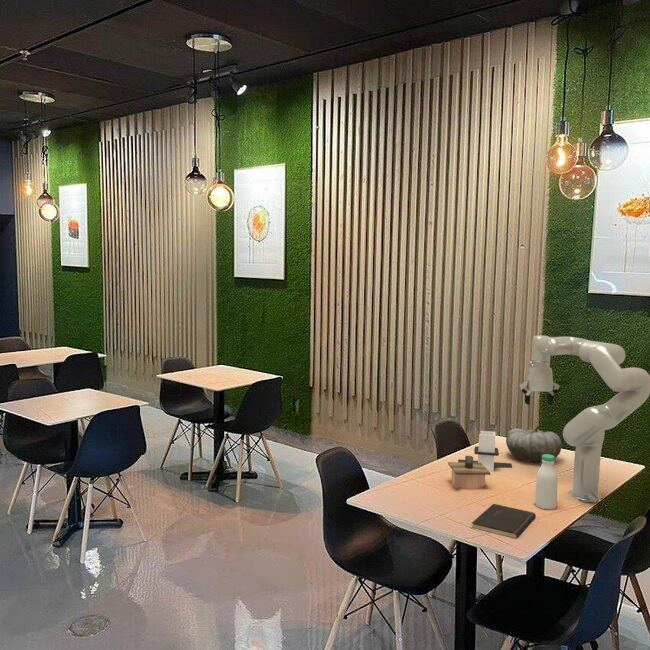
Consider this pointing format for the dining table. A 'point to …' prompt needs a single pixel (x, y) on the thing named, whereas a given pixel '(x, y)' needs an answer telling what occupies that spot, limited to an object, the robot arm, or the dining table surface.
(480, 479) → the terracotta bowl
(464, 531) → the dining table surface
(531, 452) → the gourd
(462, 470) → the walnut lid
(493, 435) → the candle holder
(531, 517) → the hardcover book
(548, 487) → the milk bottle
